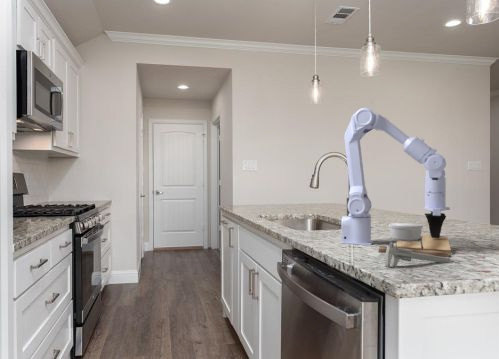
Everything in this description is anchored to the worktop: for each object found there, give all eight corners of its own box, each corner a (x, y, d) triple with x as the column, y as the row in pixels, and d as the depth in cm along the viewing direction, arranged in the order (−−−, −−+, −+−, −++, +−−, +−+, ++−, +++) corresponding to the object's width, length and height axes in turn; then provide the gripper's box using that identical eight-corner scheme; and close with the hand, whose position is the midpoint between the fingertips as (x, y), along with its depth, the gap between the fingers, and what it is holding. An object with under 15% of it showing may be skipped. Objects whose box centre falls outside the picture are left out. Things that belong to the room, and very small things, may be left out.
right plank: (423, 252, 110) (423, 248, 110) (422, 238, 120) (422, 234, 120) (450, 254, 108) (450, 250, 108) (447, 239, 118) (447, 236, 117)
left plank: (395, 250, 113) (395, 246, 113) (396, 244, 123) (396, 240, 123) (421, 252, 111) (421, 248, 111) (420, 245, 121) (420, 242, 121)
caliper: (387, 269, 92) (388, 243, 92) (384, 268, 93) (385, 242, 93) (454, 263, 98) (454, 239, 98) (450, 262, 99) (450, 238, 99)
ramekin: (381, 237, 139) (381, 223, 139) (403, 235, 144) (403, 221, 144) (406, 242, 129) (407, 226, 129) (429, 240, 134) (429, 225, 134)
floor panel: (378, 252, 110) (378, 248, 110) (379, 250, 114) (379, 246, 114) (448, 258, 104) (448, 253, 104) (447, 255, 107) (447, 250, 107)
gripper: (452, 193, 109) (452, 241, 109) (447, 192, 122) (447, 234, 122) (425, 193, 111) (425, 240, 111) (423, 191, 125) (423, 233, 125)
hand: (435, 237), depth 117 cm, fingers closed
